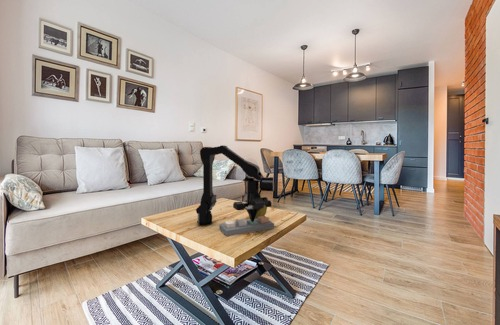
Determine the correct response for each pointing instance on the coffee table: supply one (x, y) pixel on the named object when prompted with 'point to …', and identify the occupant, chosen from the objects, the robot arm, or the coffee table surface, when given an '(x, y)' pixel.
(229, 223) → the key
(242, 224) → the key
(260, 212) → the flower pot
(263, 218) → the key
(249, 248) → the coffee table surface
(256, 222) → the key
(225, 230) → the keyguard frame
